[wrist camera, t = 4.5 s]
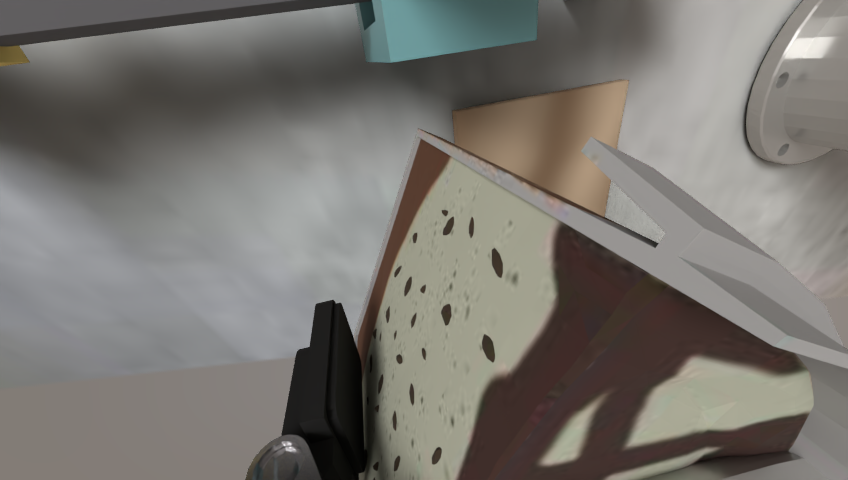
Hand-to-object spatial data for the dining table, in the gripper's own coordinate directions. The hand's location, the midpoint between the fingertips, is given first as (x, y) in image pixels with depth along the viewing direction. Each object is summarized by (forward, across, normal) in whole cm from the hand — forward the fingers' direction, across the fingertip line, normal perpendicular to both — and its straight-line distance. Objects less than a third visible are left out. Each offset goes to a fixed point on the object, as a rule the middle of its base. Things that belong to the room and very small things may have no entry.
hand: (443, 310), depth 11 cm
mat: (+9, -8, +2) cm, 12 cm away
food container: (+3, -1, 0) cm, 3 cm away
